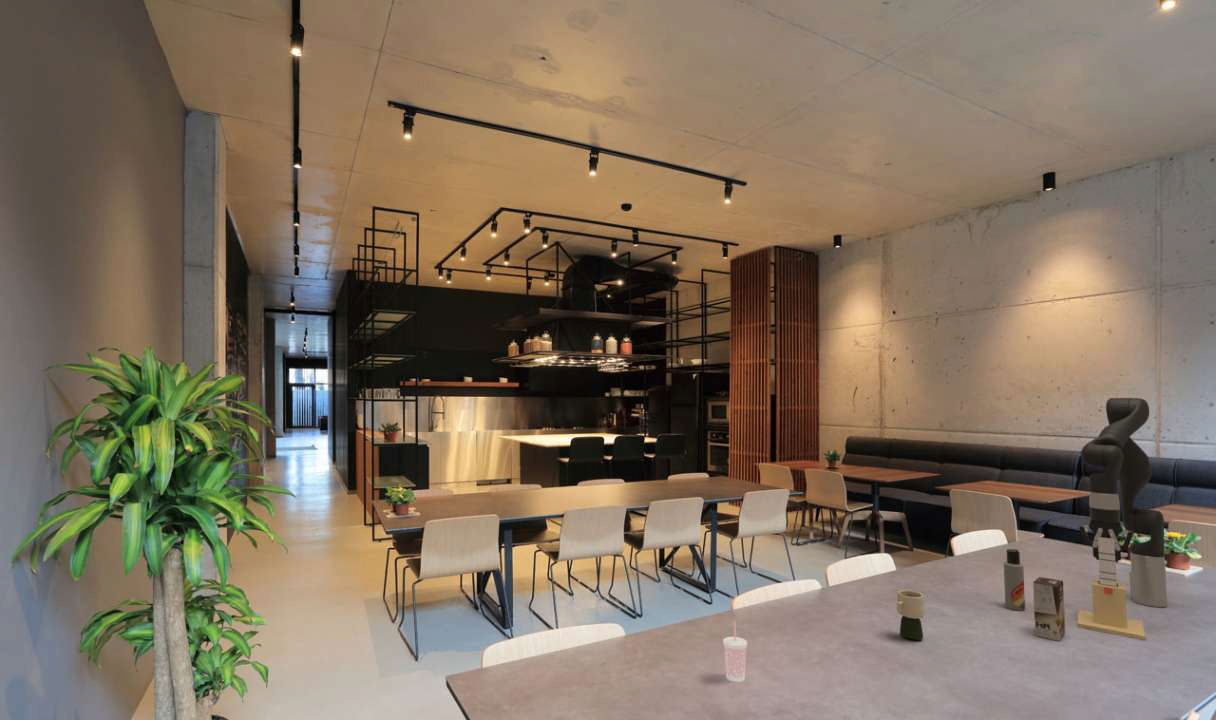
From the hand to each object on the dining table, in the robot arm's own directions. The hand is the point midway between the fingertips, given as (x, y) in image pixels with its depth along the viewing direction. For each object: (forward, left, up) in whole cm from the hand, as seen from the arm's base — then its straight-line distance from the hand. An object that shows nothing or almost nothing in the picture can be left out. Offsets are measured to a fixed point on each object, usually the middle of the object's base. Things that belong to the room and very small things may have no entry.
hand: (1106, 560), depth 191 cm
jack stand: (0, 0, -21) cm, 21 cm away
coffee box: (+10, -24, -21) cm, 33 cm away
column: (0, 0, -13) cm, 13 cm away
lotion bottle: (-14, -21, -21) cm, 33 cm away
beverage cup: (+51, -124, -21) cm, 136 cm away
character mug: (+18, -68, -21) cm, 73 cm away
